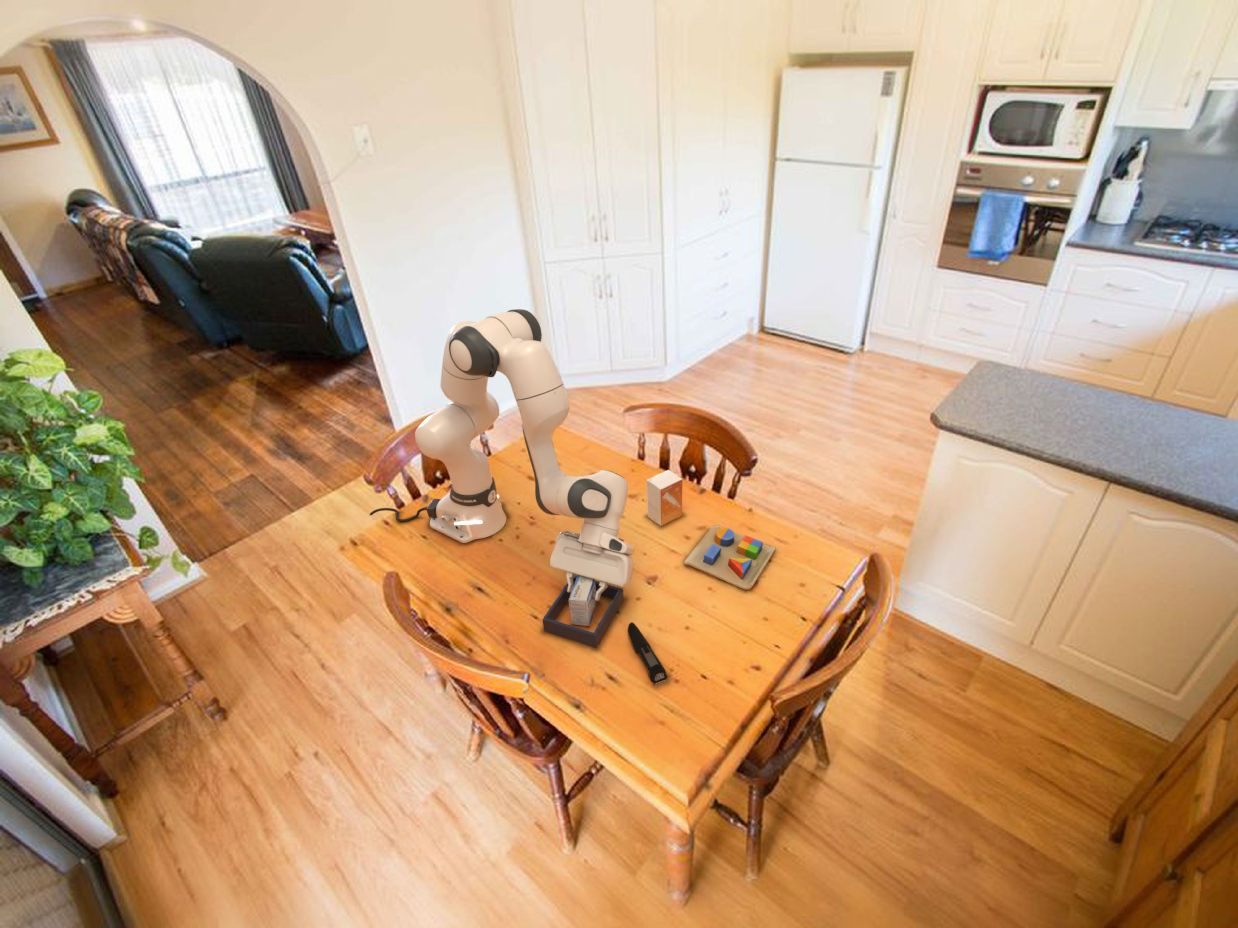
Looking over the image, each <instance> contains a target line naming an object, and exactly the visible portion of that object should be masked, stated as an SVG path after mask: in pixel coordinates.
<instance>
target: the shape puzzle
mask: <svg viewBox="0 0 1238 928" xmlns="http://www.w3.org/2000/svg"><path fill="white" fill-rule="evenodd" d="M775 551H776V547H775V546H770V545H766V544H765V543H764V542H763V541H761V540H759V539H756V538H754V537H751V536H749V535H746V534H745V535H742V534H740V533H738V532H736V531H734V530H733V529H731V528H729V527H723V526H720V525H717V524H715V525H712V526H711V527H710V528H709V529H708V530H707V532H706V533H705V534H704V536H703V537H702V538H701V540H700V541H699V542H698V543H697V544H696V546H695V547H694V549H693V550H692V551H691V552H690V553H689V555H688V556H687V558H685V560H684V561H683V565H686V566H691V567H692V568H695V569H698V570H699V571H702V572H703V573H706V574H708V575H711V576H713V577H715V578H717V579H720V580H721V581H724V582H726V583H729V584H730V585H733V586H735V587H738V588H739V589H741V590H745V591H746V590H750V589H751V588H753V586H754V585H755V584H756V583H757V580H758V578H759V577H760V575H761V573H762V572H763V570H764V569H765V567H766V566H767V564H768V563H769V560H770V558H771V557H772V556H773V555H774V552H775Z"/></svg>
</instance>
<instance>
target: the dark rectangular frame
mask: <svg viewBox="0 0 1238 928" xmlns="http://www.w3.org/2000/svg"><path fill="white" fill-rule="evenodd" d="M577 576H578V575H577V574H576V575H575V578H573V583H574V584H575V581H576V579H577ZM599 583H600V581H598V580H595V586H596V592H597V591H598V589H599V588H600V587H601V586H599ZM567 589H568V582H567V583H566V584H565V586H564V587H563V589H562V590H561V592H560V593H559V595H558V596H557V597H556V599H555V600H554V601H553V603H552V605H551V606H550V608H549V609H548V611H547V612H546V614H545V615H544V616H543V618H542V620H541V621H542V626H543V629H544V630H543V631H544V632H546V633H549V634H552V635H555V636H558V637H561V638H565V639H568V640H569V641H570V640H571V641H574V642H577V643H580V644H583V645H586V646H589V647H592V648H598V647H599V645H600V643H601V641H602V639H603V637H604V636H605V634H606V633H607V631H608V629H609V627H610V626H611V623H612V622H613V620H614V618H615V617H616V615H617V613H618V612H619V610H620V608H621V606H622V605H623V602H624V601H625V597H624V587H620V586H616V585H613V584H608V587H607V588H606V589H605V590H604V591H603V592H602V593H601V595H600V597H603V598H607V599H610V600H612V601H611V603H609V606H608V608H607V609H606V611H605V612H604V614H603V616H602V618H601V620H600V621H599V623H598V625H597V626H596V628H595V630H594V631H590V630H587V629H584V628H580V627H578V626H574V625H572V624H571V625H570V624H567V623H565V622H562V621H558V620H557V619H558V617H559V616H560V614H561V612H562V611H563V609H564V608H565V607H566V605H567V603H569V598H570V595H571V593H569V592H567Z"/></svg>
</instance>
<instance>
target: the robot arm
mask: <svg viewBox="0 0 1238 928" xmlns="http://www.w3.org/2000/svg"><path fill="white" fill-rule="evenodd" d="M542 334H543V333H542V328H541V324H540V323H539V321H538V319H537V318H536V316H535V315H534V314H533V313H532V312H530V311H529V310H526V309H524V308H523V309H521V308H517V309H509V310H507V311H506V312H500V313H497V314H491V315H489V316H486V317H485V318H482V319H480V320H478V321H473V320H463V321H460V322H457V323H455V324H454V325H453V326H452V327H451V328H450V331H449V333H448V336H447V339H446V341H445V346H444V349H443V356H442V364H441V373H440V374H441V377H440V384H439V385H440V389H441V391H442V393H443V394H444V396H445V397H446V398H447V399H448V400H450V401H449V403H448V404H446V405H445V406H444V407H442V408H441V409H439V410H437V411H435V412H434V413H432V414H431V415H428V417H426V418H425V419H424V421H422V422H421V423H420V425H419V426H418V427H417V428H416V429H415V432H414V440H415V445H416V446H417V448H418V449H419V451H420V452H421V454H423V455H425V456H426V457H428V458H430V459H432V460H438V461H441V463H443V465H444V466H445V468H446V470H447V473H448V476H449V479H450V482H449V485H447V487H445V489H444V490H445V493H447V492H448V493H447V494H445V495H444V496H443V497H442V498H432V500H431V502H430V503H429V505H428V506H424V507H421V508H419V509H418V510H417V512H416V514H415V515H413V516H411V517H408V518H400V517H399V515H400V512H399V510H398V509H395V508H392V507H391V508H390V507H379V508H376V509H374V510H372V511H371V512H370V513H369V516H373V515H374V514H376V513H378V512H385V511H389V512H393V513H395V520H396V521H397V522H399V523H405V522H409V521H413V520H415V519H416V518H418V517H419V516H420V513H421V512H423V511H426V514H427V517H428V518H429V519H430V518H431V519H430V521H429V527H430V528H431V529H433V530H435V531H437V532H439V533H442V534H443V535H445V536H447V537H449V538H452V539H454V540H456V541H458V542H460V543H462V544H467V543H470V542H472V541H474V540H475V541H476V540H479V539H480V540H481V539H485V538H488V537H490V536H493V535H495V534H497V533H498V532H500V531H501V530H502V529H503V528H504V527H505V525H506V523H507V515H506V514H505V513H506V512H504V509H503V505H502V503H501V502H500V500H499V498H500V495H499V494H498V493H497V486H496V481H495V478H494V477H493V475H492V471H491V466H490V461H489V457H488V456H487V455H486V454H485V452H483V451H482V450H480V449H478V448H473V447H471V443H472V441H473V440H474V439H476V438H477V437H479V436H480V435H482V434H483V433H484V432H486V431H487V430H488V429H489V428H490V427H492V426H493V424H495V422H496V421H497V419H498V418H499V416H500V406H499V403H498V401H497V399H496V398H495V397H494V395H492V394H491V393H490V392H488V383H489V378H494V377H495V376H496V374H497V372H499V373H501V374H503V375H504V376H505V377H506V379H507V380H508V383H509V384H510V387H511V391H512V394H513V396H514V400H515V402H516V405H517V408H518V412H519V414H520V418H521V424H522V425H521V426H522V433H523V438H524V443H525V446H526V450H527V453H528V458H529V462H530V465H531V467H532V472H533V476H534V495H535V501H536V504H537V506H538V508H539V509H540V510H541V511H542V512H543V513H545V514H546V515H550V516H563V517H568V518H574V519H579V520H580V519H581V520H582V519H583V521H582V525H581V529H580V532H579V533H575V532H570V531H567V530H564V531H562V532H560V533H558V535H557V537H556V539H555V546H554V548H553V550H552V552H551V555H550V558H549V565H550V567H551V568H554V569H557V570H560V571H564V572H566V575H565V577H566V581H567V583H568V589H567V592H569V593H571V592H572V590H573V587H574V583H573V578H575V575H576V576H578V575H579V576H585V577H589V578H592V579H595V581H598V582H600V583H599V586H601V587H600V588H599V589H598V591H597V592H593V593H592V597H591V599H593V600H596V601H597V602H599V601H600V599H601V596H600V595H601V593H602V592H603V591H604V590H605V589H606V588H607V587H608V585H613V586H616V587H620V588H627V587H628V586H630V585H631V582H632V578H633V572H634V559H633V557H632V555H633V554H634V552H635V547H634V546H633V545H631V544H630V543H628V542H627V541H625V540H624V539H623V538H620V537H619V533H620V522H621V520H622V517H623V516H624V512H625V509H626V504H627V501H628V500H627V499H628V494H629V484H628V481H627V480H626V478H625V477H624V476H622V475H621V474H619V473H617V472H615V471H612V470H609V469H608V470H607V469H601V470H599V471H598V472H596V473H591V474H587V475H581V476H579V475H568V474H566V473H565V472H564V471H562V469H561V468H560V465H559V461H558V457H557V453H556V450H555V445H554V442H553V435H554V433H555V431H556V430H557V429H558V428H559V427H560V426H561V425H562V424H563V423H564V422H565V420H566V418H567V417H568V415H569V412H570V401H569V396H568V393H567V390H566V386H565V383H564V381H563V378H562V376H561V373H560V371H559V369H558V366H557V364H556V361H555V360H554V358H553V356H552V354H551V353H550V350H549V349H548V347H547V346H546V345H545V344H544V343H543V342H542V339H543V338H542V336H543V335H542Z"/></svg>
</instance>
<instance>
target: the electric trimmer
mask: <svg viewBox="0 0 1238 928" xmlns="http://www.w3.org/2000/svg"><path fill="white" fill-rule="evenodd" d="M627 633H628V637H629V639H630V642H631V645H632V647H633V649H634V652H635V653H636V654H637V655H639V656H640V658H641V660H642V662H643V663H644V666H645V667H646V670H647V672H648V677H649V679H650V681H651V683H653V684H654V685H657V684H660V683H663V682H665V681H666V680H667V679H668V675H667V671H666V668H664V666H663V665H662V662H661V661H660V660H659V658H658V657H657V655H656V653H655V652H654V650H653V648H652V647H651V645H650V643H649V642H648V640H647V639H646V638H645V636H644V634H643V633H642V632H641V631H640V629H639V627H638V626H637V625H636V624H635V623H634V622H629V624H628V626H627Z"/></svg>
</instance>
